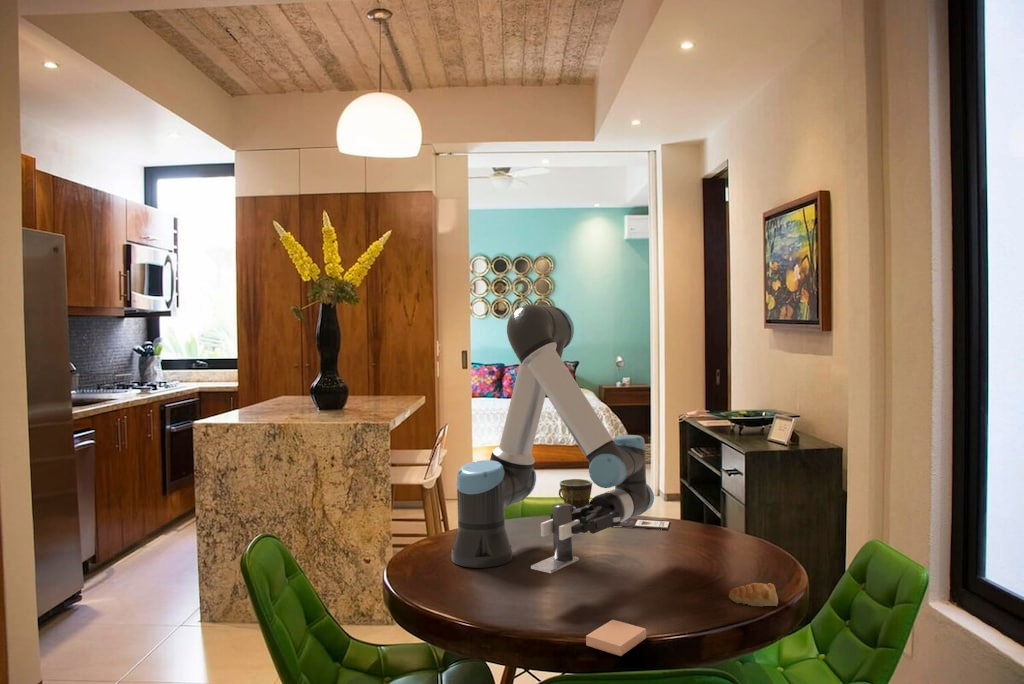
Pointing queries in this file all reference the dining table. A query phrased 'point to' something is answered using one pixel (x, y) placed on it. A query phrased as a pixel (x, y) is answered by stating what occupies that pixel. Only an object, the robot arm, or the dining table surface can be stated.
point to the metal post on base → (559, 542)
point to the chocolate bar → (645, 523)
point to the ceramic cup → (576, 492)
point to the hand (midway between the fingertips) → (551, 531)
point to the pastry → (755, 594)
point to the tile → (616, 637)
